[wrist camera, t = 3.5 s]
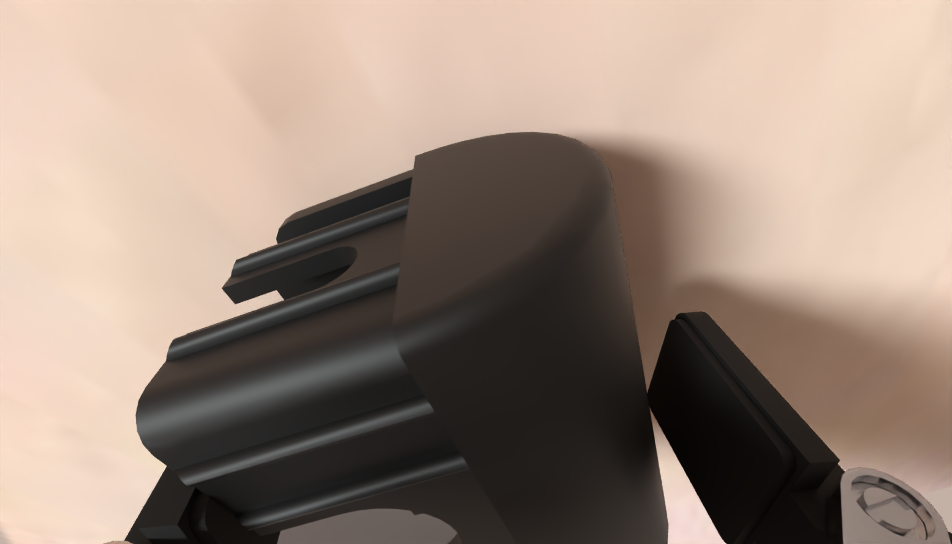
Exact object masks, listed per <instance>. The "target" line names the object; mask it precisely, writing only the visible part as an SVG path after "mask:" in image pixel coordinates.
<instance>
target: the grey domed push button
mask: <svg viewBox="0 0 952 544" xmlns="http://www.w3.org/2000/svg"><path fill="white" fill-rule="evenodd" d="M456 534H457V532H456V531H455V530H454V529H453V528H452V527H451V526H450V525H448V524H447V523H445V522H443V521H442V520H440V519H438V518H435V517H432V516H430V515H427V514H419V515H414V514H413V513H412V512H411V511H409V510H400V509H369V510H359V511H354V512H349V513H344V514H340V515H336V516H333V517H329V518H326V519H322V520H318V521H315V522H311V523H307V524H304V525H300V526H297V527H293V528H289V529H286V530H282V531H281V532H280V535H279V539H278V542H277V544H448V543H449V542H450V541H451V540H452V539H453V538H454V537H455V535H456Z"/></svg>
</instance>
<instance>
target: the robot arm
mask: <svg viewBox="0 0 952 544" xmlns="http://www.w3.org/2000/svg"><path fill="white" fill-rule="evenodd" d="M647 396H648V402H649V407H650V409H651V411H652V413H653V415H654V416H655V418H656V420H657V422H658V424H659V426H660V427H661V429H662V431H663V433H664V435H665V436H666V438H667V440H668V442H669V444H670V446H671V447H672V449H673V451H674V453H675V455H676V457H677V458H678V460H679V462H680V464H681V466H682V467H683V469H684V471H685V473H686V475H687V477H688V478H689V480H690V482H691V484H692V486H693V487H694V489H695V491H696V493H697V495H698V497H699V498H700V500H701V502H702V504H703V506H704V508H705V509H706V511H707V513H708V515H709V517H710V518H711V520H712V522H713V524H714V526H715V528H716V529H717V531H718V533H719V535H720V536H721V538H722V540H723V541H724V542H725V543H726V544H952V533H950V532H948V531H947V528H946V526H945V524H944V521H943V519H942V517H941V516H940V515H939V513H938V512H937V511H936V510H935V508H934V507H933V506H932V504H930V503H929V502H928V501H927V500H926V499H925V498H924V497H923V496H922V495H921V494H920V493H918V492H917V491H916V490H914V489H913V488H911V487H910V486H908V485H907V484H905V483H904V482H902V481H900V480H898V479H896V478H894V477H892V476H890V475H888V474H886V473H883V472H880V471H877V470H874V469H869V468H860V467H858V468H853V469H849V470H847V471H846V472H844V470H843V469H842V468H841V467H840V466H839V465H838V462H839V461H840V460H839V459H838V458H837V456H836V455H835V454H834V453H833V452H832V451H831V450H830V449H829V448H828V446H827V445H826V444H825V443H824V442H823V441H822V440H821V439H820V438H819V437H818V435H817V434H816V433H815V432H814V431H813V430H812V429H811V428H810V427H809V426H808V424H807V423H806V422H805V421H804V420H803V419H802V418H801V417H800V416H799V414H798V413H797V412H796V411H795V410H794V409H793V408H792V407H791V406H790V405H789V403H788V402H787V401H786V400H785V399H784V398H783V397H782V396H781V395H780V393H779V392H778V391H777V390H776V389H775V388H774V387H773V386H772V385H771V384H770V382H769V381H768V380H767V379H766V378H765V377H764V376H763V375H762V374H761V373H760V371H759V370H758V369H757V368H756V367H755V366H754V365H753V364H752V363H751V361H750V360H749V359H748V358H747V357H746V356H745V355H744V354H743V353H742V352H741V350H740V349H739V348H738V347H737V346H736V345H735V344H734V343H733V342H732V340H731V339H730V338H729V337H728V336H727V335H726V334H725V333H724V332H723V331H722V329H721V328H720V327H719V326H718V325H717V324H716V323H715V322H714V321H713V320H712V318H711V317H710V316H709V315H708V314H706V313H705V312H691V313H680V314H678V315H677V316H676V318H675V319H674V320H671V321H670V323H669V326H668V329H667V332H666V335H665V338H664V342H663V345H662V348H661V351H660V354H659V357H658V361H657V364H656V367H655V370H654V373H653V376H652V380H651V383H650V386H649V389H648V393H647ZM280 532H281V531H279V532H275V533H271V534H268V535H264V536H260V535H259V534H258V533H256V532H255V531H254V530H250V531H249V530H246V529H245V528H244V527H243V526H242V525H241V524H240V522H239V521H238V520H237V518H236V517H235V516H234V515H232V514H231V513H230V512H228V511H227V510H225V509H224V508H223V507H221V506H220V505H219V504H217V503H216V502H215V501H213V500H212V499H211V498H210V497H208V496H207V495H205V494H204V493H203V492H201V491H200V490H199V489H197V488H196V487H195V486H193V487H189V486H186V485H185V484H184V483H183V482H182V481H181V480H180V478H179V477H178V475H177V474H176V472H175V471H173V470H172V469H171V468H169V467H168V466H167V467H166V469H165V470H164V472H163V474H162V476H161V477H160V479H159V481H158V483H157V484H156V486H155V488H154V490H153V491H152V493H151V495H150V497H149V498H148V500H147V502H146V504H145V505H144V507H143V509H142V511H141V512H140V514H139V516H138V518H137V519H136V521H135V523H134V524H133V526H132V528H131V530H130V531H129V533H128V535H127V537H126V538H125V540H124V541H111V542H108V543H105V544H277V542H278V539H279V535H280Z"/></svg>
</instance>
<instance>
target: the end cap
mask: <svg viewBox="0 0 952 544" xmlns="http://www.w3.org/2000/svg"><path fill="white" fill-rule="evenodd" d="M276 240H277V243H278V244H277V245H274V246H271V247H268V248H266V249H263V250H260V251H257V252H255V253H252V254H249V255H248V256H246V257H243V258H241V259H238V260H236V262H235V264H234V266H233V270H232V274H231V277H230V278H229V279H228V281H227V282H226V283H225V285H224V286H223V287H222V289H223V290H224V292H225V293H226V294H227V295H228V296H229V298H230V299H231V300H232V301H233V302H234V303H235V304H237V303H240V302H243V301H246V300H249V299H252V298H255V297H258V296H260V295H263V294H266V293H269V292H272V291H275V290H277V291H278V292H279V294H280V295H281V296H282V298H283V299H284V301H281V302H278V303H275V304H272V305H269V306H266V307H263V308H260V309H257V310H254V311H252V312H249V313H246V314H243V315H240V316H237V317H234V318H231V319H228V320H225V321H222V322H220V323H217V324H214V325H211V326H208V327H205V328H202V329H199V330H196V331H193V332H191V333H188V334H186V335H184V336H181V337H178V338H176V339H174V340H173V341H172V343H171V345H170V347H169V350H168V353H167V359H166V362H165V363H164V364H163V366H162V367H161V368H160V369H159V371H158V372H157V373H156V375H155V376H154V377H153V379H152V380H151V381H150V383H149V384H148V385H147V386H146V388H145V390H144V391H143V393H142V395H141V397H140V399H139V401H138V406H137V411H136V424H137V432H138V434H139V436H140V439H141V441H142V443H143V445H144V446H145V447H146V448H147V449H148V451H149V452H150V453H151V454H152V455H153V456H154V457H156V458H157V459H158V460H160V461H161V462H162V463H164V464H165V465H167V466H168V467H169V468H171V469H172V470H173V471H175V472H176V474H177V475H178V477H179V478H180V480H181V481H182V482H183V483H184V484H185V485H186V486H189V487H193V486H195V487H196V488H197V489H199V490H200V491H201V492H203V493H204V494H205V495H207V496H208V497H210V498H211V499H212V500H213V501H215V502H216V503H217V504H219V505H220V506H221V507H223V508H224V509H225V510H227V511H228V512H230V513H231V514H232V515H234V516H235V517H236V518H237V520H238V521H239V522H240V524H241V525H242V526H243V527H244V528H245V529H246V530H249V531H250V530H254V531H255V532H256V533H258V534H259V535H260V536H264V535H268V534H271V533H275V532H279V531H282V530H286V529H289V528H293V527H297V526H300V525H304V524H307V523H311V522H315V521H318V520H322V519H326V518H329V517H333V516H336V515H340V514H344V513H349V512H354V511H359V510H369V509H400V510H409V511H411V512H412V513H413V514H414V515H419V514H427V515H430V516H432V517H435V518H438V519H440V520H442V521H443V522H445V523H447V524H448V525H450V526H451V527H452V528H453V529H454V530H455V531H456V532H457V534H456V535H455V537H454V538H453V539H452V540H451V541H450V542H449V543H448V544H668V519H667V512H666V506H665V499H664V493H663V487H662V481H661V475H660V469H659V463H658V457H657V451H656V445H655V439H654V433H653V426H652V420H651V414H650V408H649V402H648V396H647V390H646V384H645V378H644V372H643V366H642V360H641V354H640V348H639V342H638V335H637V329H636V323H635V317H634V311H633V305H632V299H631V293H630V287H629V281H628V275H627V269H626V263H625V257H624V251H623V244H622V238H621V232H620V226H619V220H618V214H617V208H616V202H615V196H614V190H613V184H612V178H611V173H610V171H609V168H608V167H607V166H606V164H605V163H604V161H603V160H602V159H601V157H600V156H599V154H598V153H597V152H596V151H595V150H593V149H592V148H590V147H588V146H587V145H585V144H583V143H582V142H580V141H578V140H576V139H573V138H569V137H566V136H562V135H558V134H550V133H539V132H521V133H506V134H498V135H491V136H485V137H480V138H475V139H471V140H466V141H462V142H458V143H455V144H451V145H447V146H444V147H440V148H437V149H434V150H431V151H429V152H426V153H423V154H420V155H417V156H415V163H414V169H413V170H410V171H407V172H404V173H402V174H399V175H396V176H394V177H391V178H388V179H385V180H383V181H380V182H377V183H375V184H372V185H369V186H366V187H364V188H361V189H358V190H356V191H353V192H350V193H347V194H345V195H342V196H339V197H336V198H334V199H331V200H328V201H326V202H323V203H320V204H317V205H315V206H312V207H309V208H307V209H304V210H301V211H298V212H296V213H294V214H293V215H291V216H290V217H289V218H287V219H286V220H285V221H284V223H283V224H282V225H281V227H280V228H279V231H278V234H277V238H276Z"/></svg>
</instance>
